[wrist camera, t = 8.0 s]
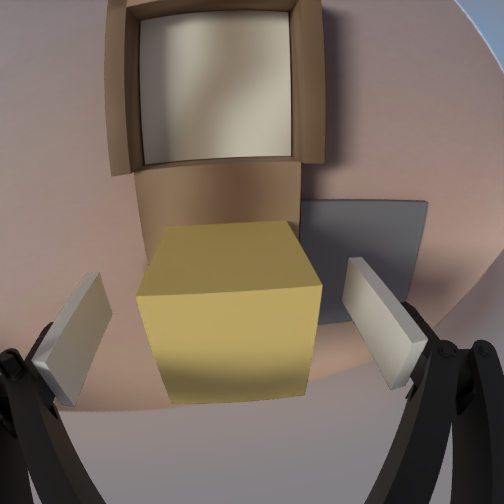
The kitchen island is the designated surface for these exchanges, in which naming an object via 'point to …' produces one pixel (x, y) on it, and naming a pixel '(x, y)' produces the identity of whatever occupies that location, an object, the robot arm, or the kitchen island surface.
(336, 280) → the mat
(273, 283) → the block
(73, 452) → the robot arm
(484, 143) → the kitchen island surface
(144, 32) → the brown tray
